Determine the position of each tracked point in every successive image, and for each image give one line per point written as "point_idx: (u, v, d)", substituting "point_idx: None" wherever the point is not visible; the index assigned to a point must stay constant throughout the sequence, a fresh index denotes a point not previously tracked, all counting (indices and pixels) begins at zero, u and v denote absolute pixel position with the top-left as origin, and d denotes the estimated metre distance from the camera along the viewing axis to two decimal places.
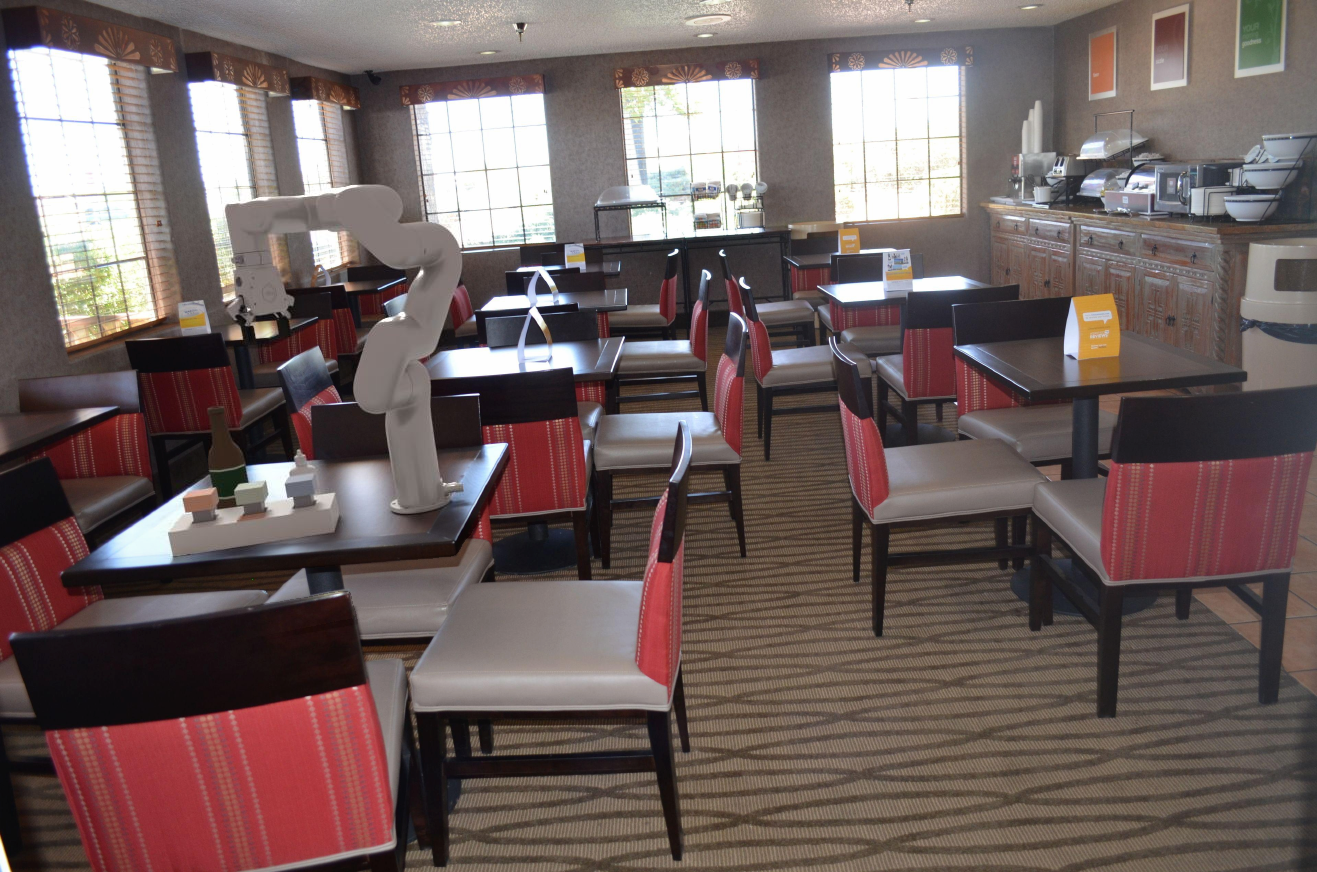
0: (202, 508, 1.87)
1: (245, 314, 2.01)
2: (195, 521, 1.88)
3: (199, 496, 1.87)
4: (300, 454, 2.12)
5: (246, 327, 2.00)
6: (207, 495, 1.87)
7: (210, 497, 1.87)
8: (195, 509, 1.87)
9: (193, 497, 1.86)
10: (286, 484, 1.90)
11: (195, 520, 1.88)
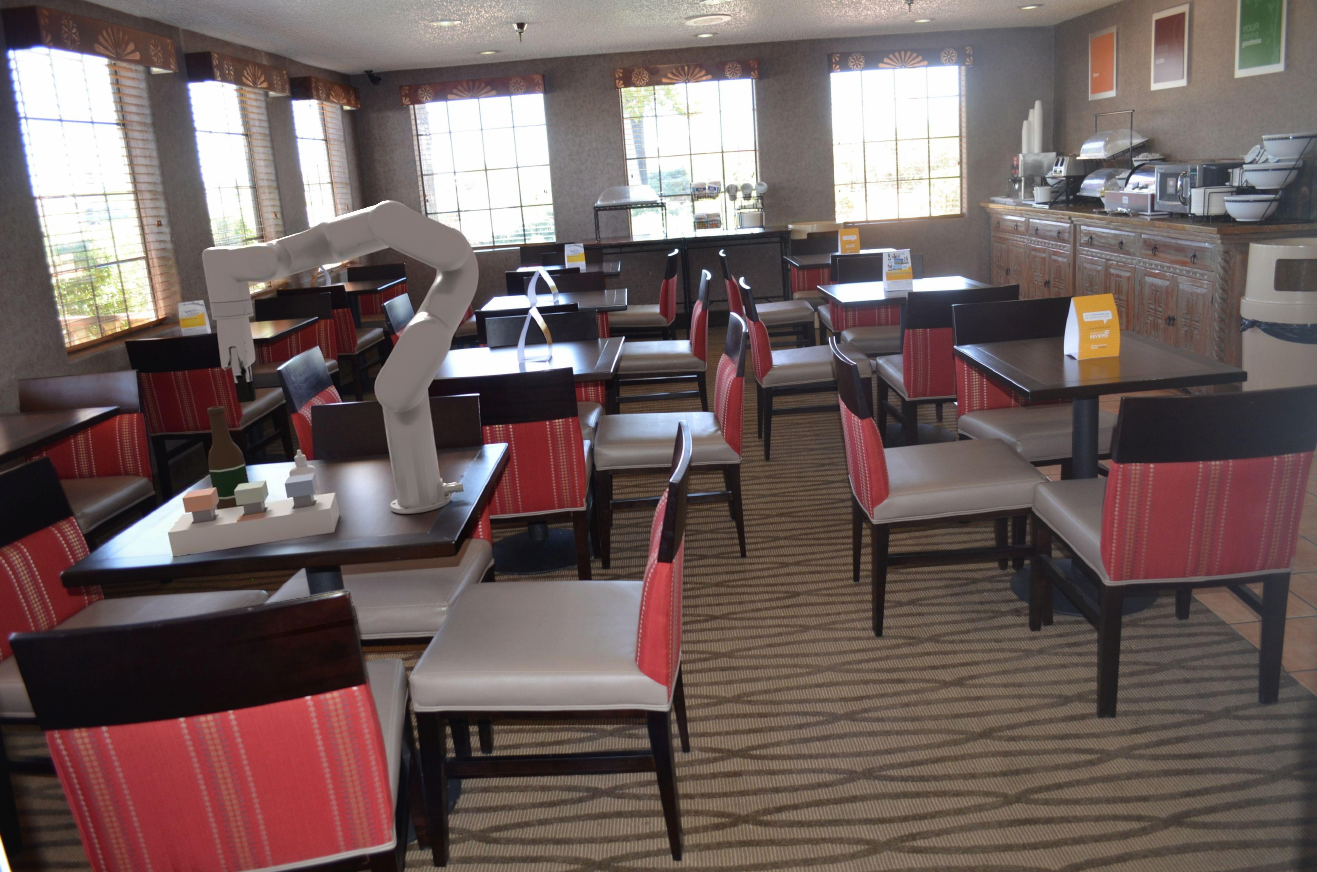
0: (202, 508, 1.87)
1: None
2: (195, 521, 1.88)
3: (199, 496, 1.87)
4: (300, 454, 2.12)
5: None
6: (207, 495, 1.87)
7: (210, 497, 1.87)
8: (195, 509, 1.87)
9: (193, 497, 1.86)
10: (286, 484, 1.90)
11: (195, 520, 1.88)
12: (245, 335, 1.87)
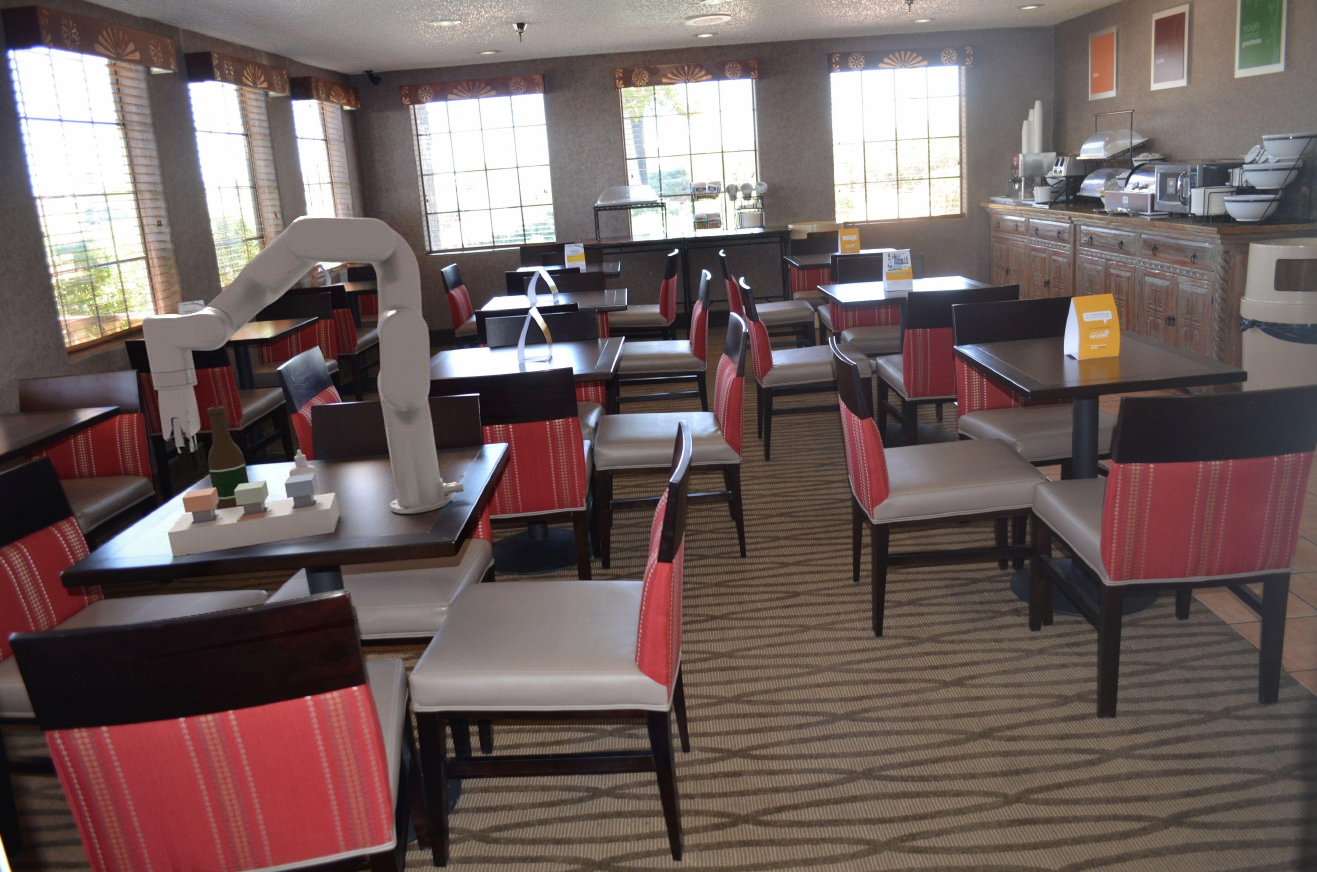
0: (202, 508, 1.87)
1: None
2: (195, 521, 1.88)
3: (199, 496, 1.87)
4: (300, 454, 2.12)
5: None
6: (207, 495, 1.87)
7: (210, 497, 1.87)
8: (195, 509, 1.87)
9: (193, 497, 1.86)
10: (286, 484, 1.90)
11: (195, 520, 1.88)
12: (188, 405, 1.82)
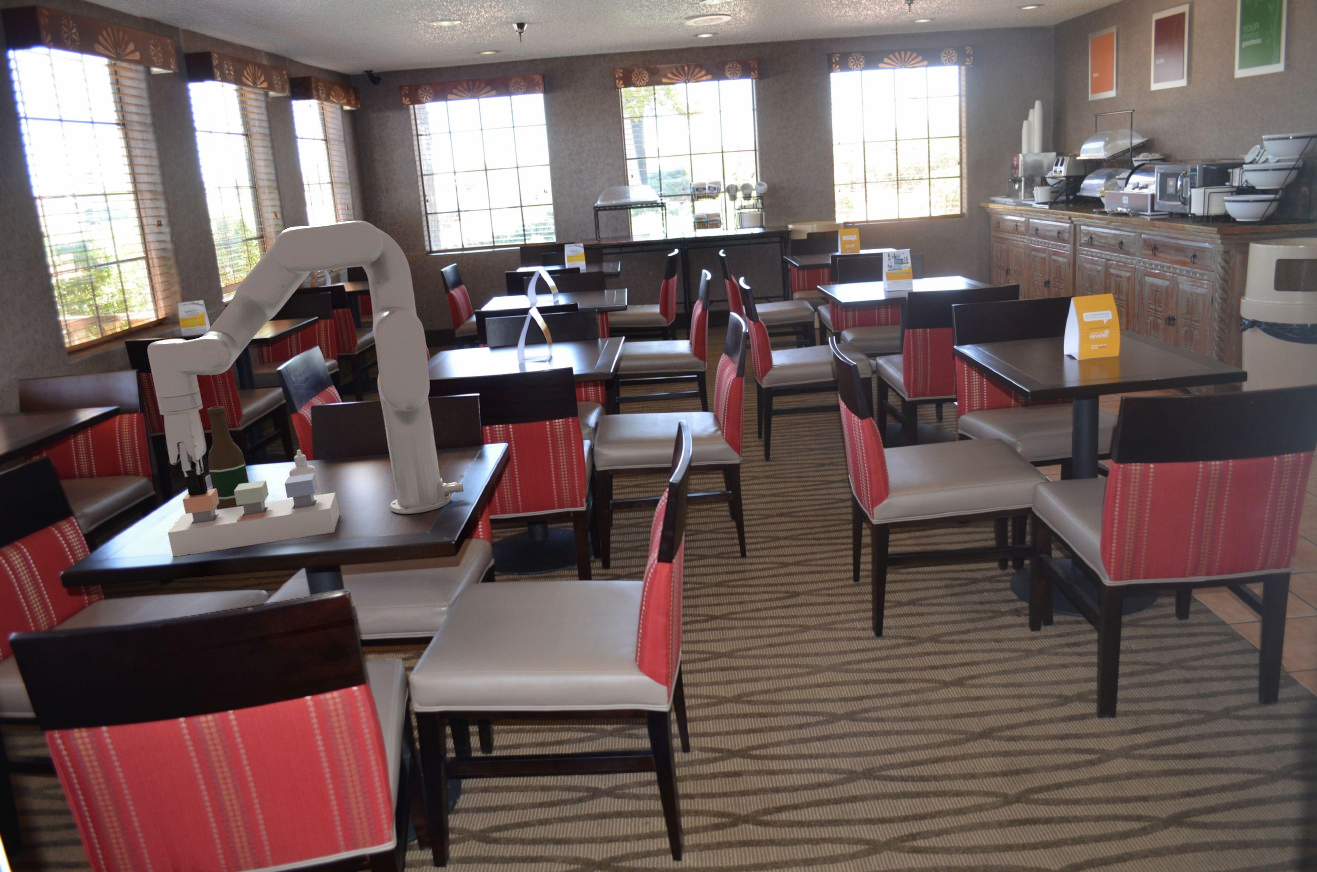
0: (202, 509, 1.87)
1: None
2: (195, 522, 1.88)
3: (199, 497, 1.87)
4: (300, 454, 2.12)
5: None
6: (207, 496, 1.87)
7: (210, 498, 1.87)
8: (195, 510, 1.87)
9: (193, 498, 1.86)
10: (286, 484, 1.90)
11: (195, 521, 1.88)
12: (194, 429, 1.84)
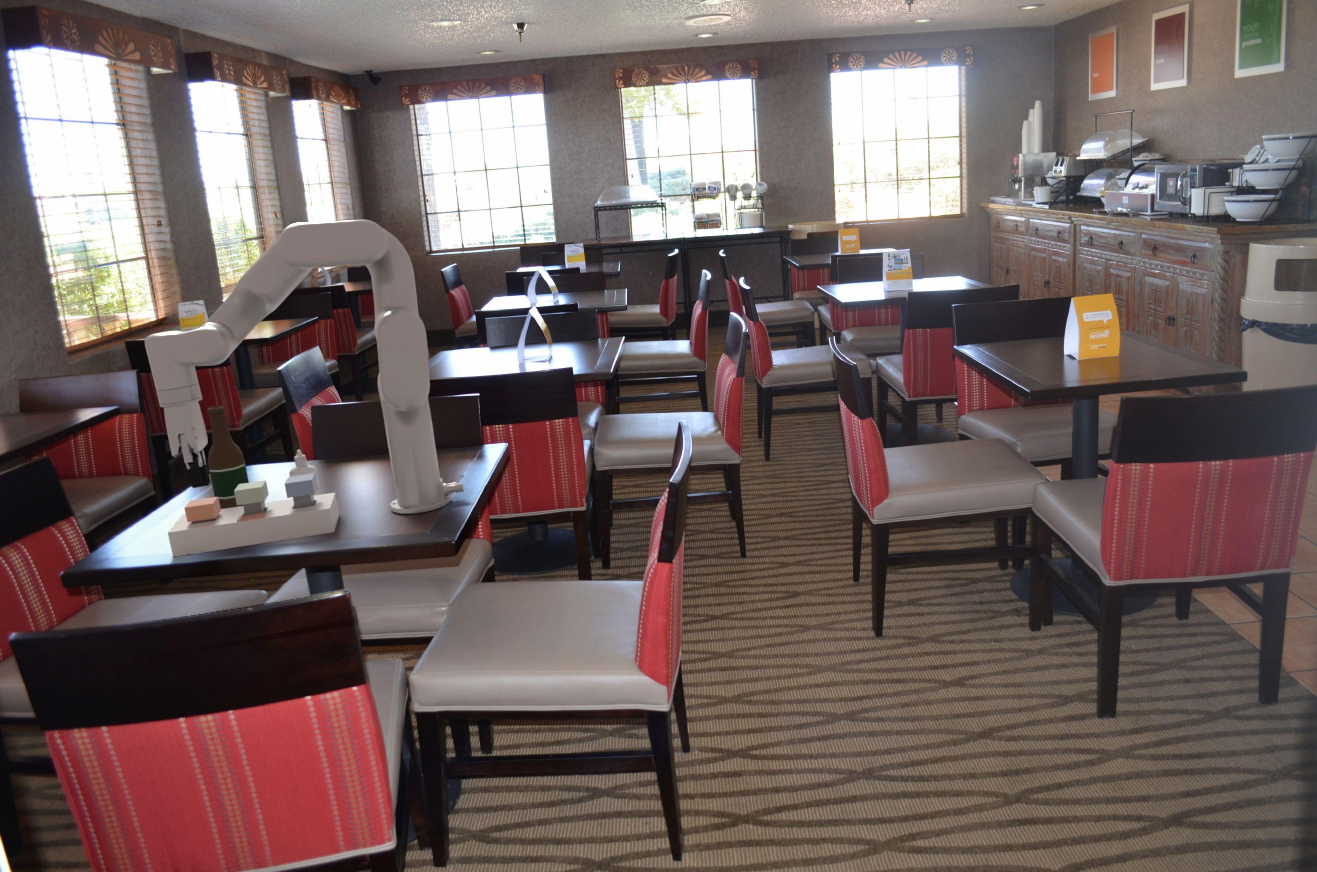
0: (204, 517, 1.88)
1: None
2: None
3: (201, 505, 1.87)
4: (300, 454, 2.12)
5: None
6: (209, 504, 1.87)
7: (212, 506, 1.88)
8: (197, 518, 1.87)
9: (195, 506, 1.87)
10: (286, 484, 1.90)
11: None
12: (195, 421, 1.83)
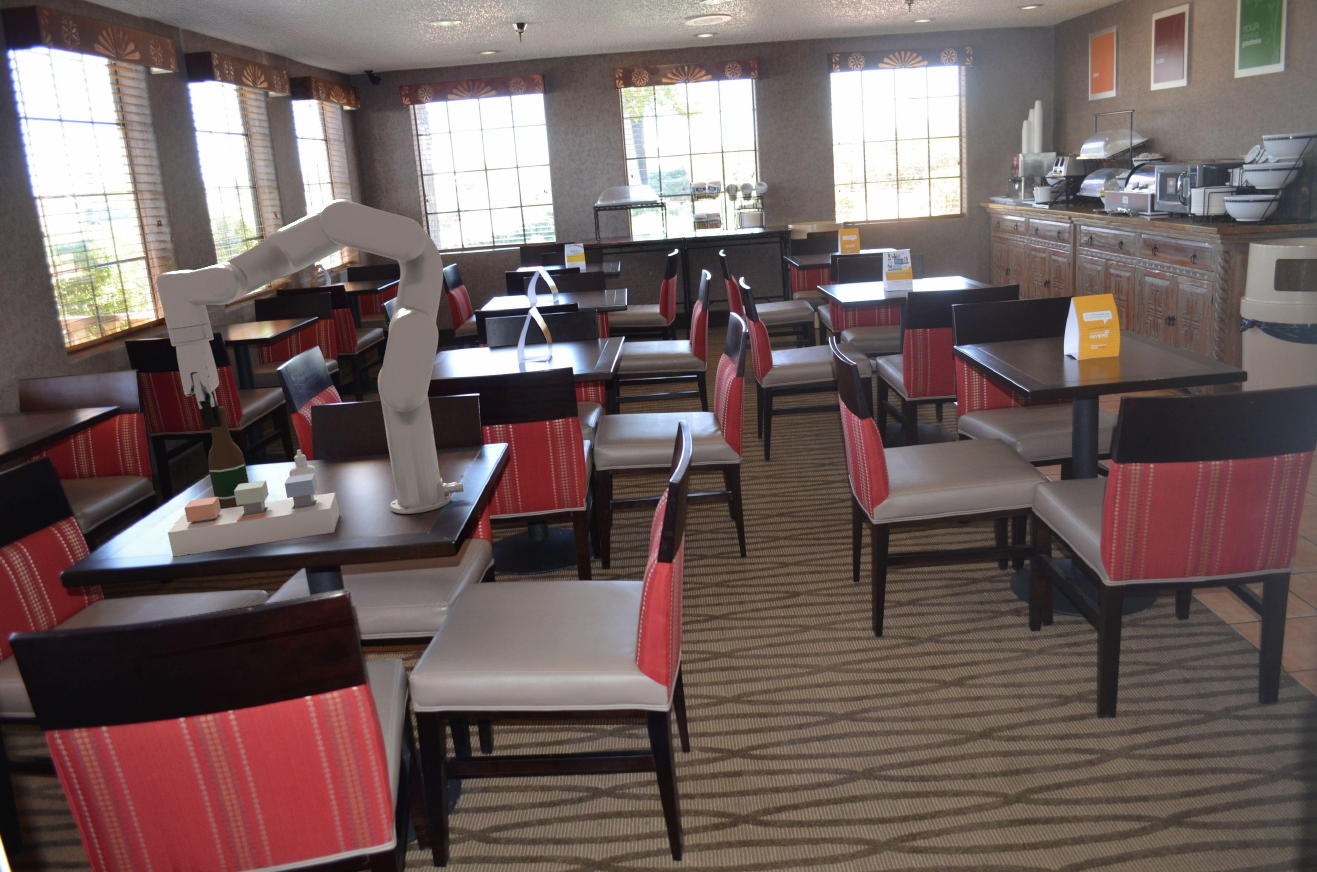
0: (204, 517, 1.88)
1: None
2: None
3: (201, 505, 1.87)
4: (300, 454, 2.12)
5: None
6: (209, 504, 1.87)
7: (212, 506, 1.88)
8: (197, 518, 1.87)
9: (195, 506, 1.87)
10: (286, 484, 1.90)
11: None
12: (207, 360, 1.83)
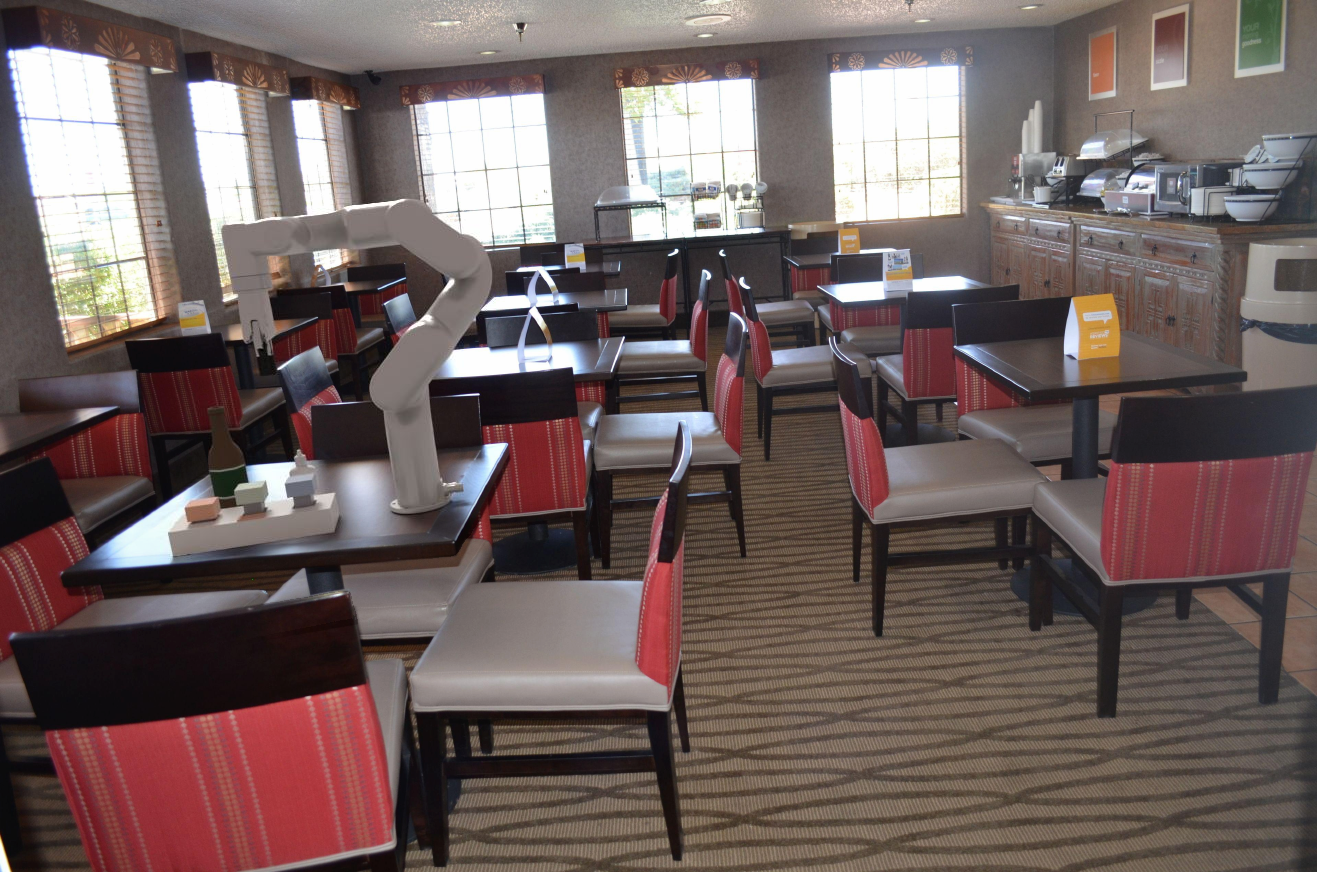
0: (204, 517, 1.88)
1: None
2: None
3: (201, 505, 1.87)
4: (300, 454, 2.12)
5: None
6: (209, 504, 1.87)
7: (212, 506, 1.88)
8: (197, 518, 1.87)
9: (195, 506, 1.87)
10: (286, 484, 1.90)
11: None
12: (266, 309, 1.89)
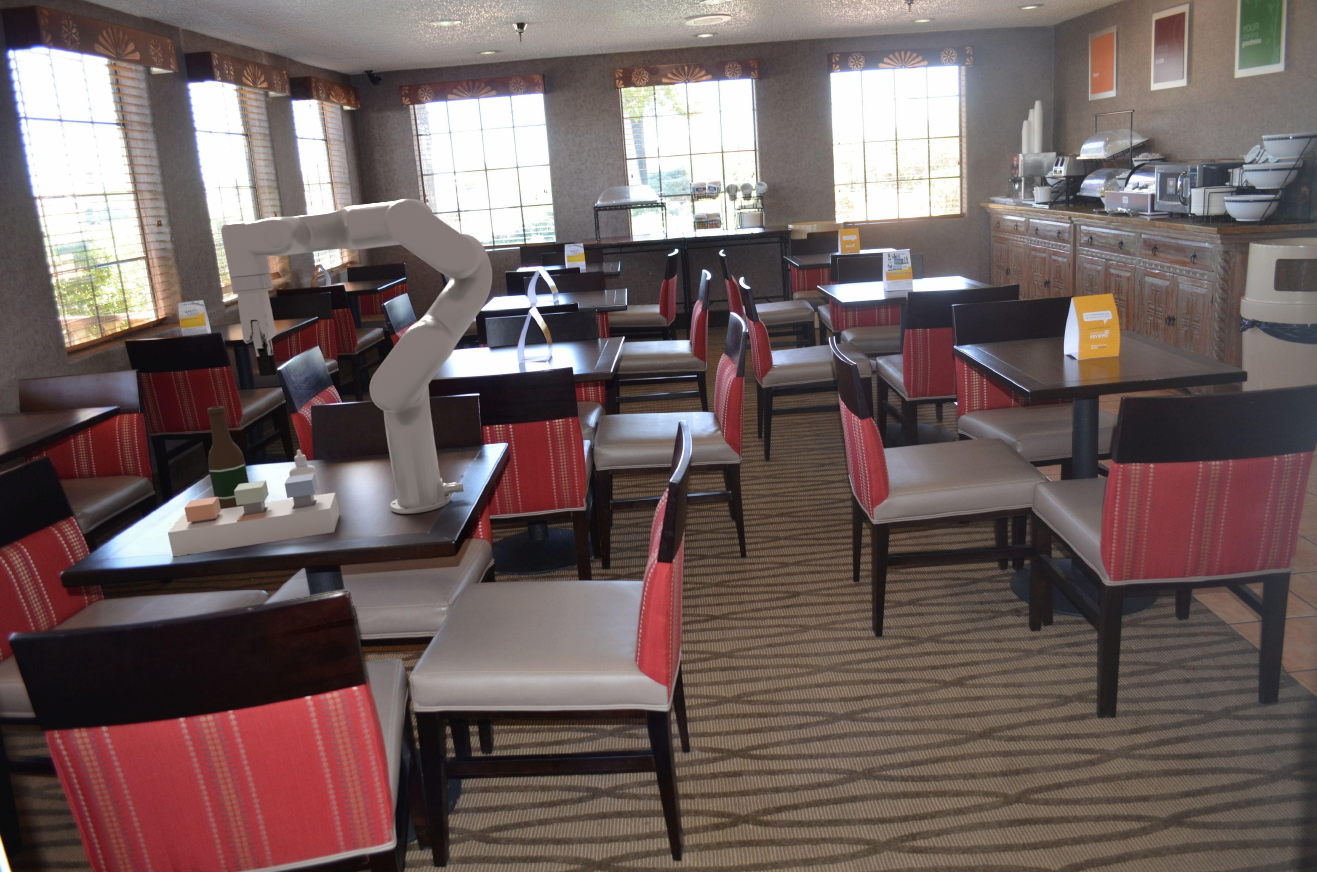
0: (204, 517, 1.88)
1: None
2: None
3: (201, 505, 1.87)
4: (300, 454, 2.12)
5: None
6: (209, 504, 1.87)
7: (212, 506, 1.88)
8: (197, 518, 1.87)
9: (195, 506, 1.87)
10: (286, 484, 1.90)
11: None
12: (266, 309, 1.90)
